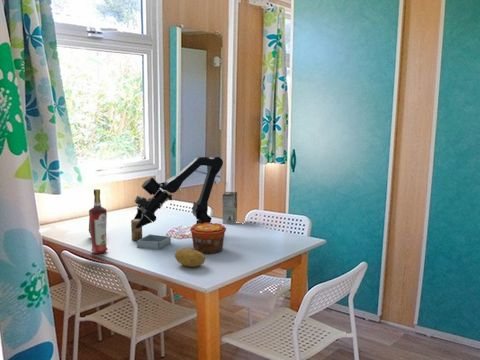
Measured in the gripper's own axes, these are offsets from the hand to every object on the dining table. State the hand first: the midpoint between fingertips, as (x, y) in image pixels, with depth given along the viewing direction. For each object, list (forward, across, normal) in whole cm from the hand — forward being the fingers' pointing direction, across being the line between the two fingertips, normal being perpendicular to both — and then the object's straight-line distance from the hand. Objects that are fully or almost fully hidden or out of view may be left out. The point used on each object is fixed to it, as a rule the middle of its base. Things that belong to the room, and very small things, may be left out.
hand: (134, 225), depth 232 cm
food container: (-15, +27, +25) cm, 40 cm away
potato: (-5, +44, +15) cm, 47 cm away
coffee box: (-34, -16, +44) cm, 57 cm away
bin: (0, +12, +10) cm, 15 cm away
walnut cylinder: (+4, 0, +6) cm, 7 cm away
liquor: (+18, +14, -7) cm, 24 cm away
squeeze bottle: (+16, -11, -6) cm, 21 cm away
